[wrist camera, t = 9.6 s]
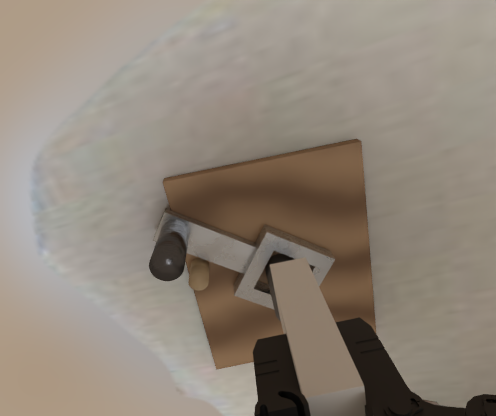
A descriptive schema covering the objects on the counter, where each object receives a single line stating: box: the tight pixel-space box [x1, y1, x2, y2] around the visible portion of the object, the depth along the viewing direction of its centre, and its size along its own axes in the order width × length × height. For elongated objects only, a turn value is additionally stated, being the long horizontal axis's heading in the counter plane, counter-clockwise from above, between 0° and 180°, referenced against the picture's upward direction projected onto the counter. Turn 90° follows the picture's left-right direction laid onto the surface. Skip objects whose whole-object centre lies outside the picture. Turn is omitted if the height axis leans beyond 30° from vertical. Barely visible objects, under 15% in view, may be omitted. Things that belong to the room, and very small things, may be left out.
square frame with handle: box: [149, 209, 335, 309], centre depth 33 cm, size 16×7×7 cm, turn 65°
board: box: [163, 139, 376, 369], centre depth 34 cm, size 22×18×8 cm
